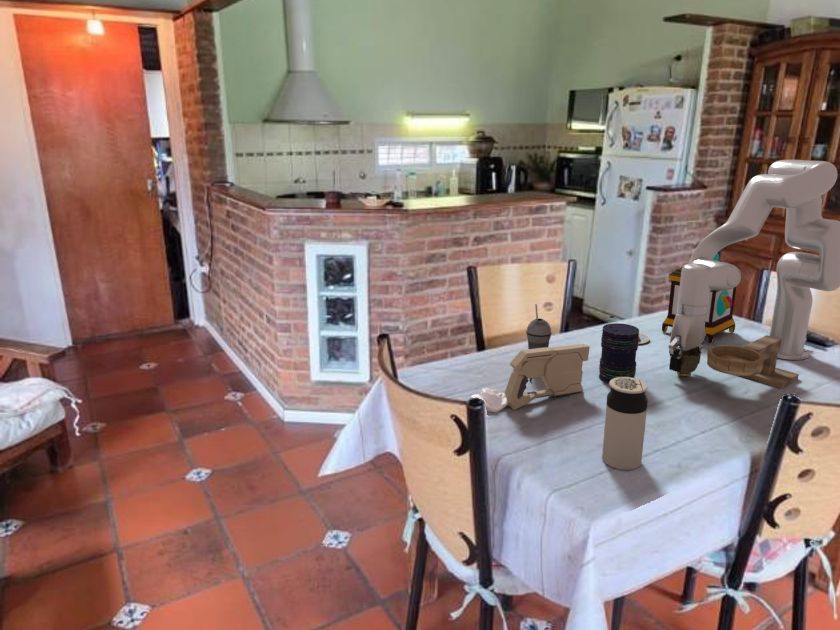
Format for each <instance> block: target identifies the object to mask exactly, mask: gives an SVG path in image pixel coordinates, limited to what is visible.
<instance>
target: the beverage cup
mask: <svg viewBox="0 0 840 630" xmlns="http://www.w3.org/2000/svg"><path fill="white" fill-rule="evenodd" d="M534 306H535V317H536V318H535V319H532V320H531V321H530V322H529V323H528V326H527V327H526V338H527V345H528V346H527V348H528V349H536V348H545V347H548V348H549V345H550V340H551V337H552V329H551V328H552V327H551V325H550V323H549V322H548V321H547V320H545V319H544V318H539V317H538V315H539V314H538V303H535V305H534Z"/></svg>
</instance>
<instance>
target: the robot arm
mask: <svg viewBox="0 0 840 630" xmlns="http://www.w3.org/2000/svg"><path fill="white" fill-rule="evenodd" d="M767 170H768V171H767V173H761V174H757V175H755V176H753V177H752V178H750V180H749V181H748V182H747V184H746V185H745V188H744V190H743V192H742V193H741V195H740V196H739V199H738V201H737V202H736V204H735V206H734V208H733V209H732V211H731V213H730V216H729V218H728V219H727V220H726V222H725V223H724V224H722V225H721V226H719V227H717V228H715V230H713V231H712V232H711V233H710V232H709V234H708V235H706V236H705V237H704V238H703V239H702V240H701V241H700V242H699V243H698V245H697V246H696V247H695V249H694V251H693V253H692V255H691V257H690V259H689V261H688V263H686V264H684V265H683V266H682V267H683V268H682V272H681V280H680V288H679V296H678V304H677V314H676V316H675V319H674V323H673V327H671V332H670V338H669V344H668V350H669V351H668V354H669V357H670V360H669V364H668V365H669V367H668V369H669V370H670V371H673V372H675V373H677V372H681V366H682V359H681V357H682V355H683V353H684V351H688V350H690V349H693V348H696V349H698V352H699V353H700V351H702V350H703V345H704V343H705V338H706V337H707V336H706V333H705V332H704V331H705V316H706V313H707V306H708V299H709V292H710V291H711V290H717V291H727V290H730V289H733V288H734V287H736V288H737V286H738V285H739V284H740V282H741V278H742V276H741V275H742V274H741V273H742V272H741V270H740V269H739V268H738V267H737V266H736V265H734V264H731V263H728V262H723V261H722V262H720V261H721V260H719V261H716V260H712V259H713V258H714V256H715V255H716V254H717V253H718V254H719V252H720V251H721V250H722V249H724V248H725V247H728V246H730V245H732V244H735V243H737V242H742V241H745V240H748V239H751V238H754V237H757V236H758V235H759V234H760V232H761V230H762V228H763V226H764V224H765V223H766V221H767V219H768V217H769V215H770V213H771V211H772V210H773V208H781V209H786V211H785V223H784V224H785V226H784V241H785V243H786V245H787V246H788V247H790V248H792V249H796V250H801V251H791V252H787V253H785V254H783V255H782V256H781V257H779V260H778V261H777V265H776V294H775V300H774V305H773V311H772V318H771V326H770V332H769V335H768V336H772V337H776V338H780V339H782V341H781V347H780V352H779V353H778V355H777V359H781V360H789V361H801V360H806V359H808V358H809V356H810V352H809V350H807V349H806V348H805V345H806V342H807V340H808V338H807V332H808V329H809V327H808V326H809V322H810V317H811V312H812V307H813V301H814V300H813V294H812V293H813V292H812V291H811V289H813V290H818V291H821V292H822V291H823V292H833V291H836V290H838V289H839V288H840V221H839V220H836V219H828V218H824V217H823V216H822V215H823V214H822V211H823V210H822V204H823V199H822V196H823V195H825V194H826V193H828V192H829V191H830V190H831V189H832V188H833V187H834V185H835V184H836V181H837V179H838V169H837V168H836V165H834V164H833V163H831V162H830V161H825V160H805V159H804V160H803V159H781V160H776V161H775V162H773V163H771V165H770V166H769V167H768V169H767ZM803 251H807V252H803ZM809 252H812V253H809ZM813 253H818V254H819V255H817V254H813ZM679 346H680V347H682V348H680V347H679ZM676 350H679V351H680V352H679V354H678V352H677V351H676ZM700 361H701V359H700V360H699V363H698V365H699V364H700Z"/></svg>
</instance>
